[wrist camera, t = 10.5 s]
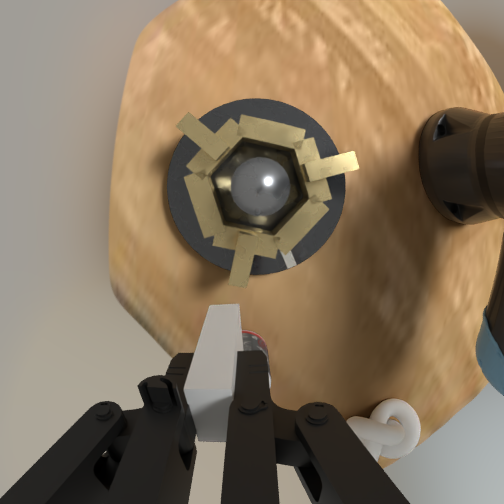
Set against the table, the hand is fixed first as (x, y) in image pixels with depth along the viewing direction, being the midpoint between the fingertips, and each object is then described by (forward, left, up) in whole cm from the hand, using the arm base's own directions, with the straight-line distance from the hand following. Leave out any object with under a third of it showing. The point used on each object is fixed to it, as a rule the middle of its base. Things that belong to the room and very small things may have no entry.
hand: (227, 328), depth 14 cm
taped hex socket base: (-3, -5, -15) cm, 16 cm away
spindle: (-4, -6, -17) cm, 18 cm away
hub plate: (-4, -6, -17) cm, 18 cm away
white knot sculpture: (-15, +32, -17) cm, 39 cm away
